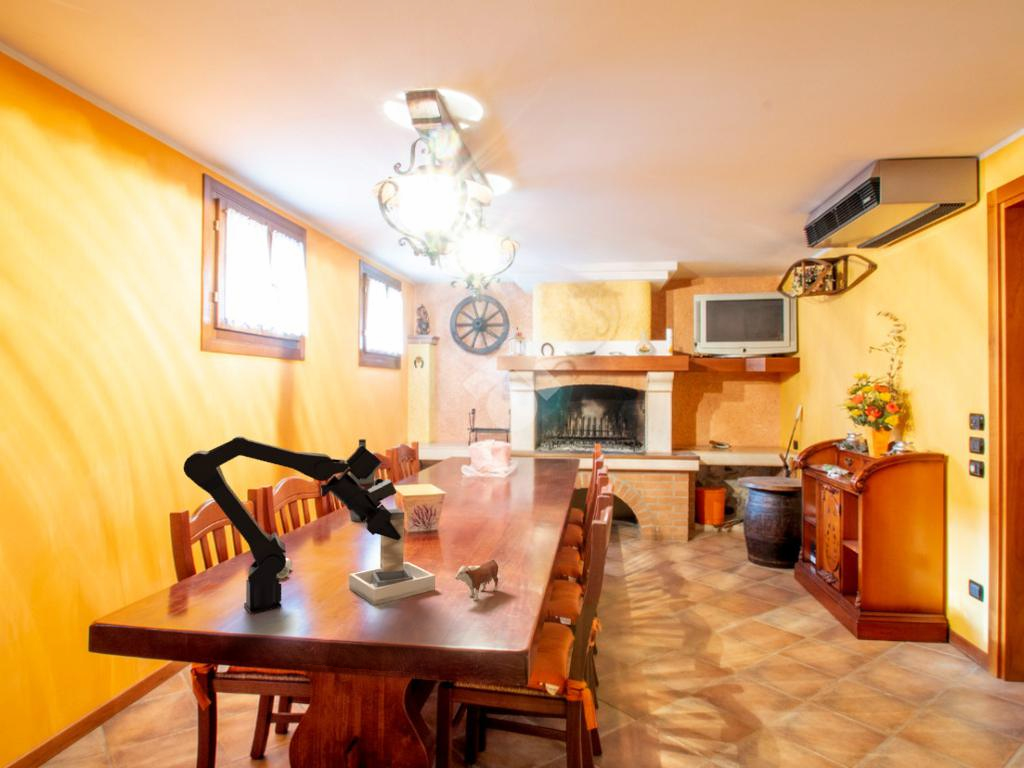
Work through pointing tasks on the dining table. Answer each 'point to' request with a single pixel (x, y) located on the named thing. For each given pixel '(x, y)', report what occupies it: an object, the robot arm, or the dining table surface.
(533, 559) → the dining table surface
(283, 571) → the pipe fitting
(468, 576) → the bull figurine
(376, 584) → the walled box
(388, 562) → the wooden block
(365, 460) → the robot arm
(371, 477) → the bottle
